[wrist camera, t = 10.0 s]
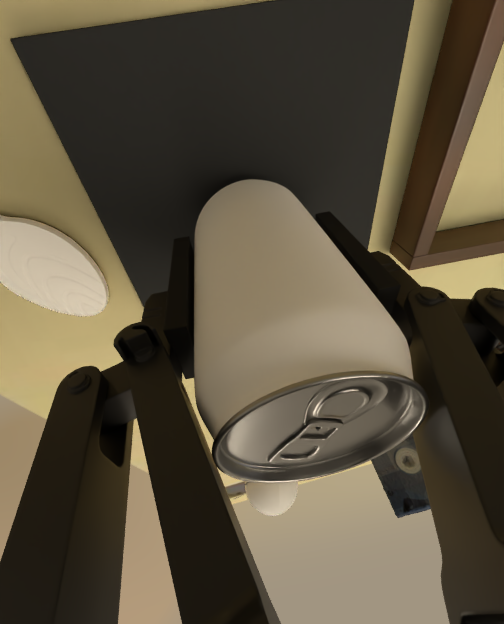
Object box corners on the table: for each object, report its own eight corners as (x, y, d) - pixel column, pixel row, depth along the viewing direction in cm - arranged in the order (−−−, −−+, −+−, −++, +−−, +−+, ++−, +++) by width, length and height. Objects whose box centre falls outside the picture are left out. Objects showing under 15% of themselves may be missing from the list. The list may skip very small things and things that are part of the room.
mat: (15, 39, 11) (8, 38, 10) (411, -18, 11) (418, -21, 11) (165, 344, 23) (164, 349, 22) (353, 308, 23) (356, 312, 23)
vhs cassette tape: (363, 443, 44) (397, 519, 37) (360, 437, 42) (395, 516, 35) (483, 402, 41) (547, 476, 33) (486, 393, 39) (555, 470, 31)
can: (325, 199, 15) (507, 379, 6) (277, 290, 19) (350, 485, 10) (212, 155, 13) (250, 338, 4) (182, 268, 17) (169, 493, 8)
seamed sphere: (281, 438, 38) (295, 500, 32) (295, 455, 43) (310, 511, 37) (215, 460, 39) (219, 523, 34) (237, 474, 44) (243, 531, 39)
